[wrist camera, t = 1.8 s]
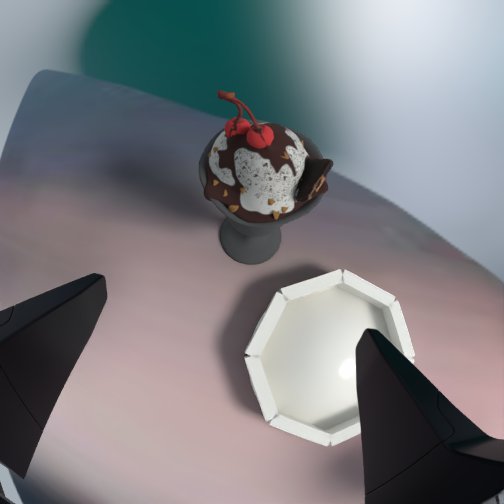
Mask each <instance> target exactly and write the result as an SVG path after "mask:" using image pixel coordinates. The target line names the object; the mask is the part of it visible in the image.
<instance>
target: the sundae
mask: <svg viewBox="0 0 504 504" xmlns="http://www.w3.org/2000/svg"><path fill="white" fill-rule="evenodd" d="M234 95H235V93H232V92H231V93H226V92H224V91H221V90H219V91H218V97H219V98H220V99H224V100H226V101H229V102H231V103H234V104H236V106H237V107H238V110H239V114H238V116H237V117H236V118H233V119H231V120H229V121H228V122H227V123H226V125H225V128H224V129H222V130H221V131H220V132H219V133H217V134H216V135H215V136H214V137H213V138H212V139H211V140H210V142H209V143H208V145H207V146H206V148H205V150H204V152H203V153H202V156H201V158H200V161H199V176H200V181H201V183H202V186H203V188H204V196H205V198H206V199H207V200H209V201H212V202H213V203H214V204H215V205H216V207H217V208H218V209H219V210H220V211H221V212H223V213H224V214H225V215H226V217H227V219H226V220H225V221H224V224H223V226H222V229H221V243H222V245H223V248H224V249H225V251H226V253H227V254H228V255H229V256H230V257H232V258H233V259H234V260H236V261H238V262H240V263H244V264H260V263H262V262H265V261H267V260H269V259H270V258H271V257H272V256H273V255H274V254H275V253H276V252H277V250H278V248H279V245H280V242H281V232H280V227H281V226H282V225H283V224H285V223H288V222H290V221H293V220H295V219H298V218H299V217H301V216H303V215H305V214H307V213H309V212H310V211H311V210H312V209H313V208H314V207H315V206H316V205H317V204H318V203H319V202H320V201H321V199H322V197H323V194H324V193H325V192H326V191H328V185H327V182H326V177H327V173H328V172H329V171H330V169H331V167H332V166H333V161H332V160H331V159H323V156H322V155H321V153H320V151H319V150H318V148H317V147H316V145H315V144H314V143H313V142H312V141H311V140H310V139H309V138H308V137H306V136H305V135H303V134H301V133H300V132H298V131H296V130H293V129H290V128H287V127H284V126H281V125H279V124H275V123H271V122H267V121H261V120H256V119H255V118H254V116H253V114H252V112H251V111H250V110H249V108H248V107H247V106H246V105H245V104H244V103H242V102H241V101H240V100H238V99H236V98H235V97H234ZM239 104H241V105H242V106H243V107H244V109H245V110H246V111H247V113H248V114H249V116H250V117H251V119H252V120H246V119H242V118H241V117H242V113H243V112H242V108H241V106H240V105H239Z"/></svg>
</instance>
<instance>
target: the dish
mask: <svg viewBox="0 0 504 504" xmlns="http://www.w3.org/2000/svg"><path fill="white" fill-rule="evenodd" d="M394 299H395V296H393V295H391V294H389V293H388V292H386V291H384V290H382V289H380V288H378V287H377V286H375V285H373V284H371V283H369V282H367V281H366V280H364V279H362V278H360V277H358V276H356V275H354V274H353V273H351V272H349V271H347V270H343V271H342V272H341V269H339V270H336V271H333V272H330V273H327V274H324V275H321V276H318V277H315V278H312V279H309V280H306V281H303V282H300V283H296V284H293V285H290V286H287V287H284V288H281V289H280V290H279V291H278V292H276V293H275V295H274V296H273V297H272V299H271V301H270V303H269V305H268V307H267V309H266V311H265V312H264V314H263V315H262V317H261V319H260V320H259V322H258V324H257V326H256V328H255V330H254V333H253V335H252V338H251V340H250V341H249V343H248V345H247V347H246V349H245V351H244V353H246V354H248V356H245V357H244V360H245V363H246V367H247V370H248V373H249V378H250V382H251V385H252V388H253V391H254V393H255V396H256V398H257V399H258V402H259V405H260V408H261V411H262V414H263V416H264V418H265V420H266V421H268V423H269V425H271V426H274V427H276V428H278V429H281V430H283V431H286V432H288V433H291V434H294V435H296V436H299V437H302V438H304V439H307V440H310V441H313V442H316V443H318V444H321V445H324V446H327V447H328V445H329V444H330V445H331V446H334V445H336V444H338V443H341V442H343V441H345V440H347V439H349V438H352V437H354V436H356V435H358V434H360V433H361V427H360V417H359V408H358V400H357V390H356V357H355V350H356V345H357V343H358V342H359V340H360V338H361V336H362V334H363V332H364V330H365V329H367V328H372V329H377V330H379V331H380V332H381V333H382V334H383V335H384V336H385V337H386V338H387V339H388V340H389V341H390V342H391V343H392V344H393V345H394V346H395V347H396V348H397V349H398V350H399V351H400V352H401V353H402V354H403V355H404V356H405V357H406V358H407V359H408V360H409V361H410V362H411V363H412V364H413V363H414V361H415V360H414V359H412V358H411V357H413V356H415V353H414V350H413V346H412V343H411V339H410V336H409V333H408V330H407V326H406V323H405V320H404V317H403V314H402V311H401V308H400V305H399V302H398V300H397V301H394Z"/></svg>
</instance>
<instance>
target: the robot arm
mask: <svg viewBox="0 0 504 504" xmlns="http://www.w3.org/2000/svg"><path fill="white" fill-rule="evenodd" d="M106 300H107V289H106V280H105V277H104V276H103V275H100V274H96V273H93V274H90V275H87V276H85V277H82V278H80V279H77V280H75V281H72V282H70V283H67V284H65V285H62V286H60V287H57V288H55V289H52V290H50V291H47V292H45V293H43V294H40V295H38V296H35V297H33V298H30V299H28V300H26V301H23V302H21V303H19V304H16V305H15V306H11V307H9V308H7V309H4V310H2V311H0V463H1V464H2V465H4V466H5V467H6V468H8V469H9V470H11V471H12V472H13V473H15V474H16V475H18V476H19V477H21V478H22V479H24V478H25V476H26V473H27V470H28V467H29V465H30V462H31V460H32V457H33V455H34V452H35V450H36V447H37V445H38V442H39V440H40V437H41V435H42V433H43V430H44V428H45V425H46V423H47V421H48V419H49V417H50V414H51V412H52V410H53V408H54V406H55V404H56V402H57V399H58V397H59V395H60V393H61V391H62V389H63V387H64V385H65V383H66V381H67V379H68V377H69V375H70V373H71V371H72V370H73V368H74V366H75V364H76V362H77V360H78V358H79V356H80V355H81V353H82V351H83V349H84V347H85V345H86V344H87V342H88V340H89V338H90V336H91V334H92V332H93V330H94V328H95V325H96V323H97V321H98V318H99V316H100V314H101V312H102V309H103V307H104V305H105V303H106ZM355 357H356V390H357V400H358V408H359V417H360V427H361V438H362V451H363V465H364V484H365V504H504V440H502V439H496V438H493V437H490V436H489V435H487V434H486V433H484V432H483V431H482V430H481V429H480V428H479V427H478V426H476V425H475V424H474V423H473V422H472V421H471V420H470V419H468V418H467V417H466V416H465V415H464V414H463V413H462V412H461V411H460V410H458V409H457V408H456V407H455V406H454V405H453V404H452V403H451V402H450V401H449V400H448V399H447V398H446V397H445V396H444V395H443V394H442V393H441V392H440V391H438V389H437V388H436V387H435V386H434V385H433V384H432V383H431V382H430V381H429V380H428V379H427V378H426V377H425V376H424V375H423V374H422V373H421V372H420V371H419V370H418V369H417V368H416V367H415V366H414V365H413V364H412V363H411V362H410V361H409V360H408V359H407V358H406V357H405V356H404V355H403V354H402V353H401V352H400V351H399V350H398V349H397V348H396V347H395V346H394V345H393V344H392V343H391V342H390V341H389V340H388V339H387V338H386V337H385V336H384V335H383V334H382V333H381V332H380V331H379V330H377V329H372V328H367V329H365V330H364V332H363V334H362V336H361V338H360V340H359V342H358V343H357V345H356V350H355ZM0 504H15V503H13V502H12V501H10V500H9V499H7V498H6V497H5V494H4V491H3V489H2V486H1V483H0Z"/></svg>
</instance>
